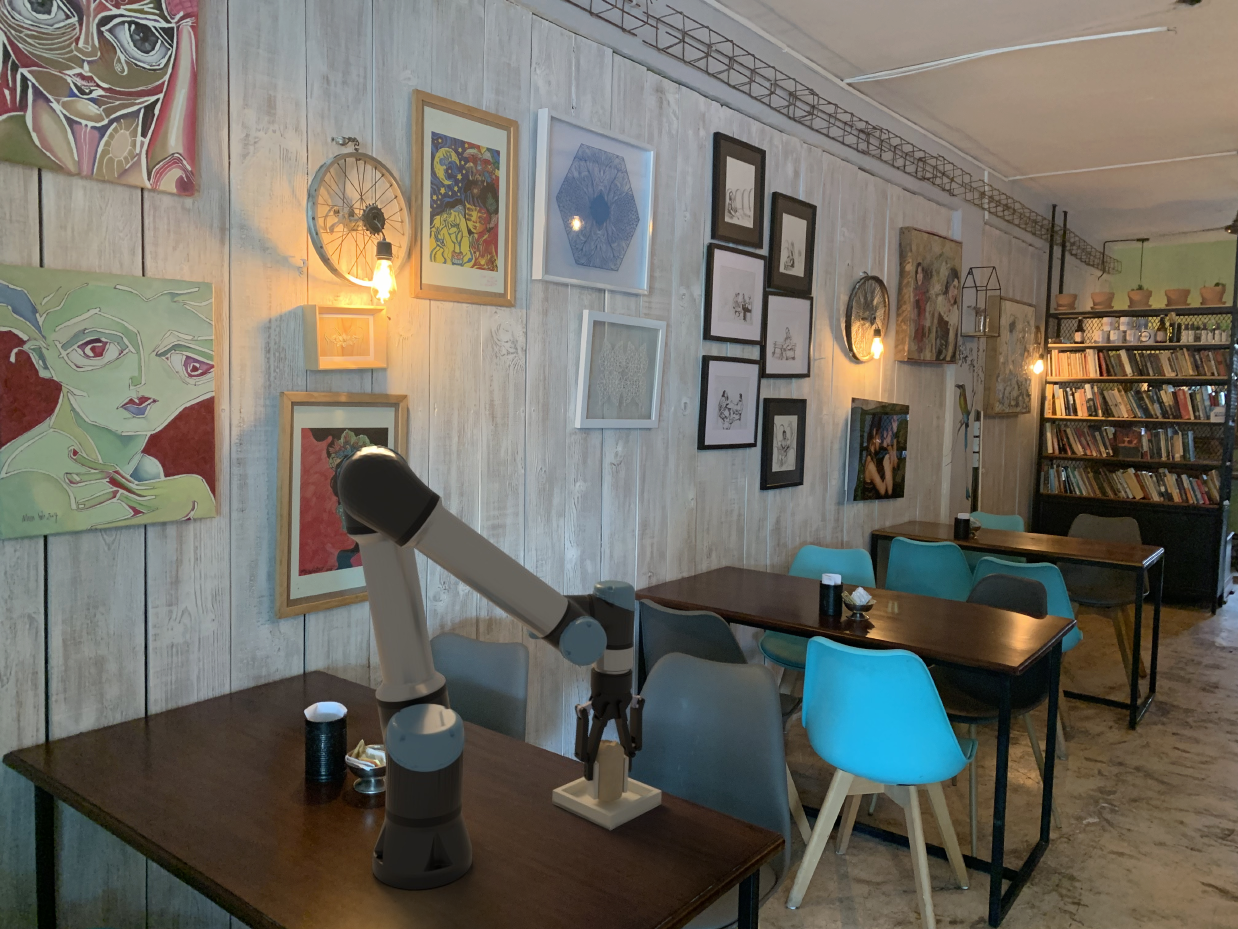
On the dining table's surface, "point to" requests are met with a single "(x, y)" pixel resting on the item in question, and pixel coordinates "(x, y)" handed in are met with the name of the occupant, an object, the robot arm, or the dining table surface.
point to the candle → (610, 770)
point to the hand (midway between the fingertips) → (607, 793)
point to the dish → (607, 803)
